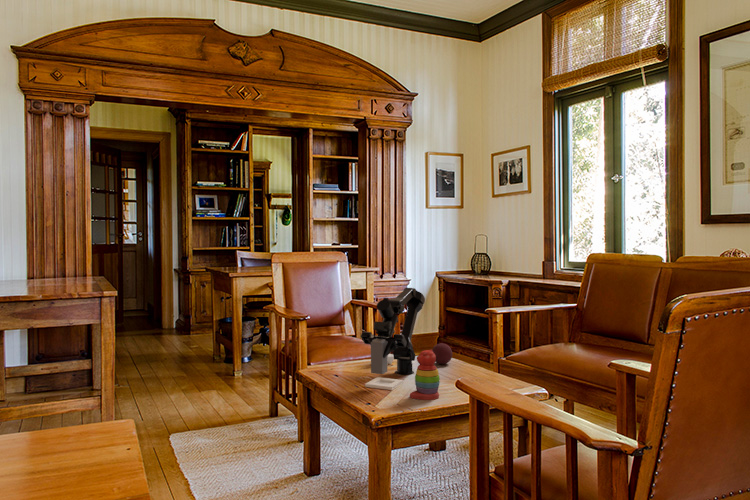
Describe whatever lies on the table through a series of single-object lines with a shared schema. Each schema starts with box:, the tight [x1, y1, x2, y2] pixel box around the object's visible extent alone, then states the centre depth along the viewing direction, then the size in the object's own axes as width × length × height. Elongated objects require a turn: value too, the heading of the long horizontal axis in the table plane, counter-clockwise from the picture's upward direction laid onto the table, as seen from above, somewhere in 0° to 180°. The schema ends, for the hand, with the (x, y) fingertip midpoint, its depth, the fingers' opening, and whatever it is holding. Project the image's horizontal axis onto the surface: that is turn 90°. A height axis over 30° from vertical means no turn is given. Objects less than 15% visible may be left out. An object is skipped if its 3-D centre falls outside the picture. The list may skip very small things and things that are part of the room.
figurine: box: [387, 353, 395, 365], centre depth 265 cm, size 7×9×15 cm
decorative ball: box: [431, 342, 453, 365], centre depth 263 cm, size 10×10×10 cm
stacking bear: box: [409, 349, 441, 401], centre depth 209 cm, size 11×10×18 cm
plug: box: [370, 338, 388, 375], centre depth 220 cm, size 5×5×13 cm
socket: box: [364, 376, 404, 391], centre depth 226 cm, size 12×12×1 cm
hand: (377, 356), depth 219 cm, fingers closed on plug, 5 cm apart
